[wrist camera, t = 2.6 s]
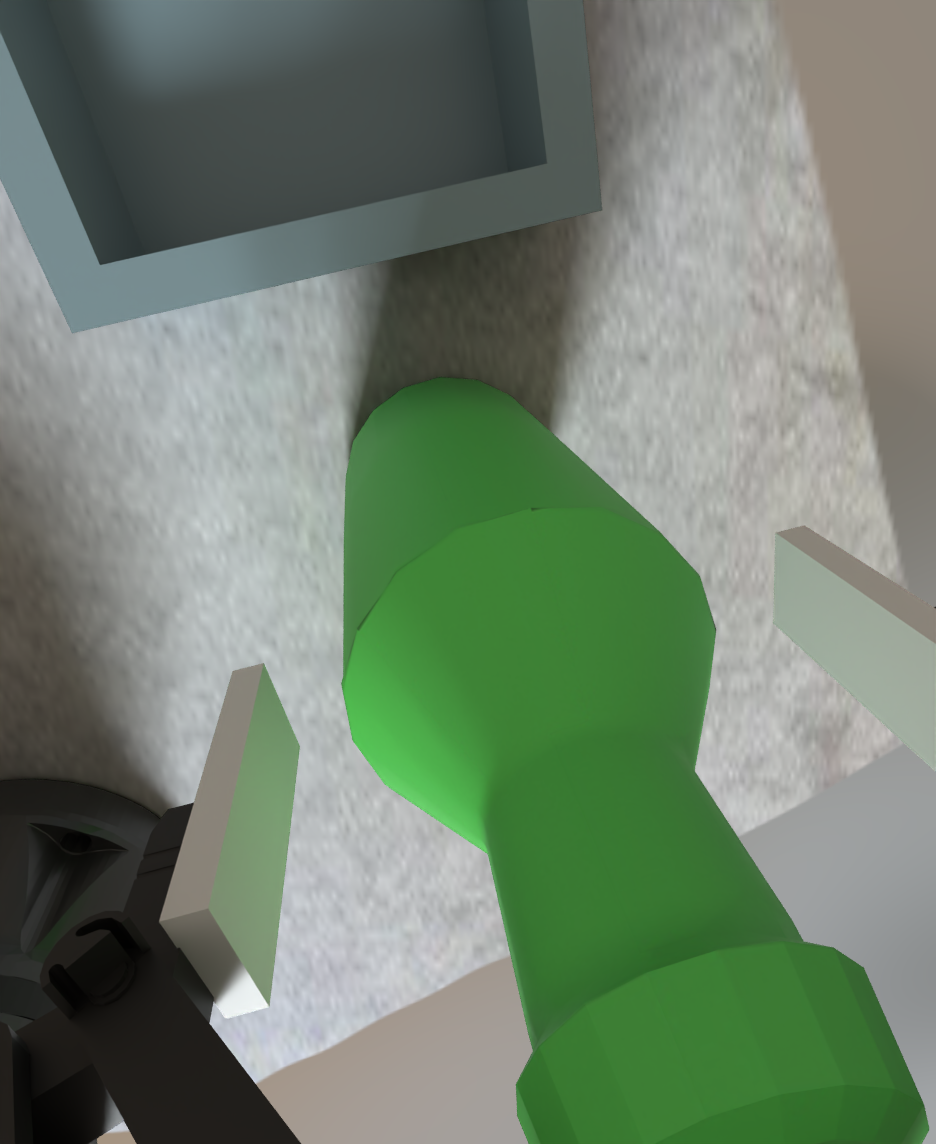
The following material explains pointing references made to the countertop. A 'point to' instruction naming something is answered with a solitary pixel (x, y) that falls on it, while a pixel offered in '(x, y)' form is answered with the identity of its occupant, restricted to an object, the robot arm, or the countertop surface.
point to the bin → (281, 138)
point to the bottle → (590, 790)
